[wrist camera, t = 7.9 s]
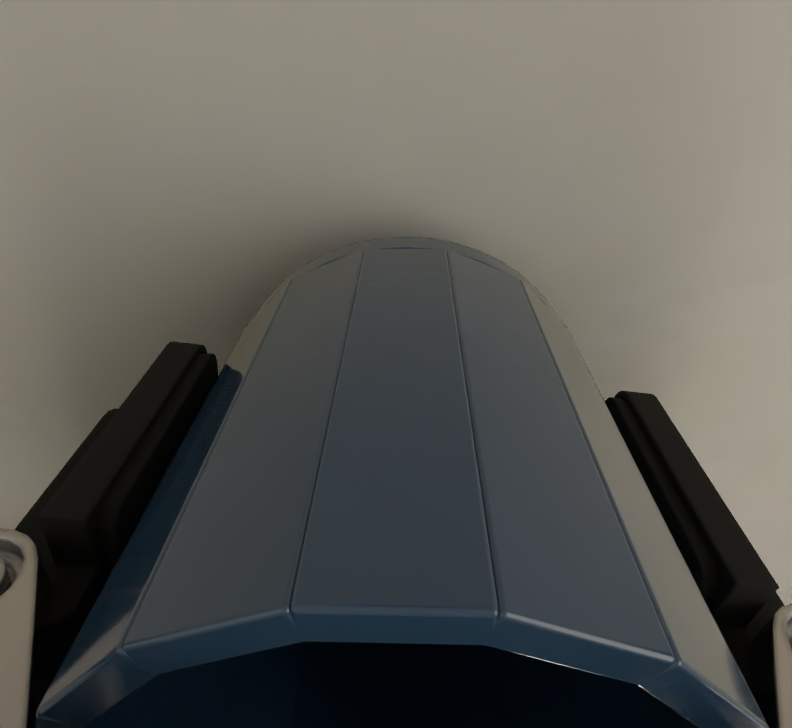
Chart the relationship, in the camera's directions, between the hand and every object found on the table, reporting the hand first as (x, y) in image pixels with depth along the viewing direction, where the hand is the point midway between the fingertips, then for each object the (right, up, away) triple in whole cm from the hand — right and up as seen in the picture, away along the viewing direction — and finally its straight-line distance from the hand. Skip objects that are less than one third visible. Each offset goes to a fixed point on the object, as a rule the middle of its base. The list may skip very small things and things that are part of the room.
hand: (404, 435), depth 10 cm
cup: (0, +1, +1) cm, 1 cm away
